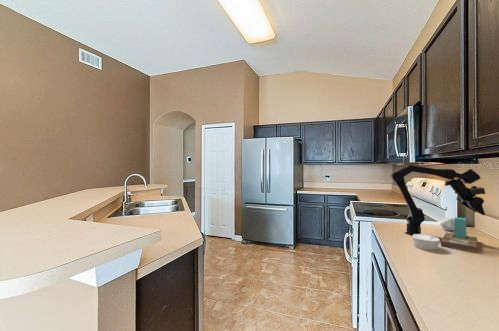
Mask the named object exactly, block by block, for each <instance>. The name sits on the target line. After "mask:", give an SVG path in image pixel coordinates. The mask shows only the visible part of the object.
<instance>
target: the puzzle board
mask: <svg viewBox="0 0 499 331" xmlns="http://www.w3.org/2000/svg"><path fill="white" fill-rule="evenodd" d="M440 246H441V247H445V248H449V249H455V250H460V251H465V252H470V253H477V248H478V237H477V236H473V235H467V234H466V239H463V238H457V237H455V236H454V233H452V232H448V231H445V233H444V235H443V236H442V239H441V240H440Z"/></svg>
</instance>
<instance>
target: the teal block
mask: <svg viewBox="0 0 499 331" xmlns="http://www.w3.org/2000/svg"><path fill="white" fill-rule="evenodd" d="M453 219H454V231H453V232H454V236H455V237H457V238H463V239H466V235H467V218H465V217H458V216H457V217H456V216H455V217H454V218H453Z"/></svg>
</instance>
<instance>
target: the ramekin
mask: <svg viewBox="0 0 499 331" xmlns="http://www.w3.org/2000/svg"><path fill="white" fill-rule="evenodd" d="M411 238H412V241H413V246H414V247H415V248H417V249H419V250H423V251H430V252H432V251H437V250H438V248H439V244H440V243H441V240H440V239H439V238H438V237H437V236H433V235H428V234H422V233H421V234H414V235H411Z"/></svg>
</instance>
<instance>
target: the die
mask: <svg viewBox="0 0 499 331" xmlns="http://www.w3.org/2000/svg"><path fill="white" fill-rule="evenodd" d="M439 226H440V227H441V228H442V230H443V231H445V232H454V218H453V217H442V218H441V221H440V223H439Z"/></svg>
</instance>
